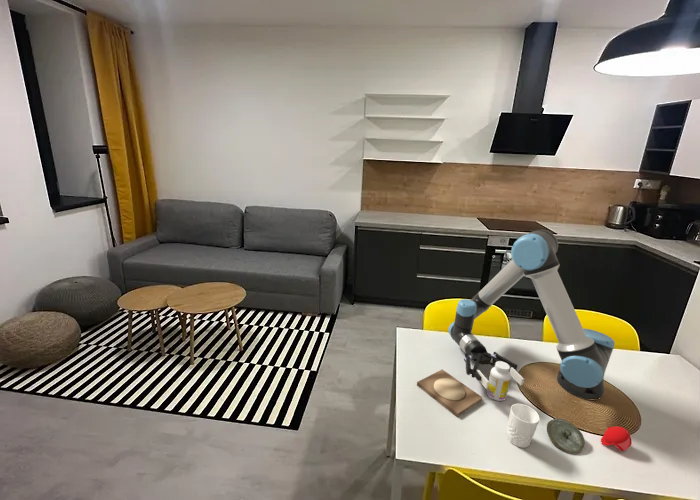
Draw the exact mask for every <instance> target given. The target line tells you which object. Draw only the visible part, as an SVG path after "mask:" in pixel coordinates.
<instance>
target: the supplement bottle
mask: <svg viewBox="0 0 700 500" xmlns="http://www.w3.org/2000/svg"><path fill="white" fill-rule="evenodd" d="M509 369H510V366H509V365H508V364H507V363H505V362H502V361H497V362H496V364H495V366H494V367H493V366H492V368H491V369H490V372H489V373H490V374H489V377H488V381H489V386H488V389H486V394H487V396H488V397H489V398H490V399H491V400H494V401H499V402H502V401H504V400H506V399H507V394H508V390H509V386H510V383H511V377H512V376H511V374H510V373H509Z"/></svg>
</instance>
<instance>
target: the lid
mask: <svg viewBox="0 0 700 500" xmlns="http://www.w3.org/2000/svg"><path fill="white" fill-rule="evenodd" d="M546 433H547V436H548V438H549V440H550V441H551V443H552V444H553V445H554V446H555V447H556V448H558V449H559V450H561V451H562V452H565V453H568V454H571V455H576V454H579V453H581V452H582V451H583V450H584V448H585V446H586V442H585V441H586V440H585V437H584V435H583V433H582V431H581V430H579V428H578V426H576V425H574V424H573V423H572V422H570V421H568V420H566V419H563V418H553V419H550V420H549V421H548V422H547V424H546Z"/></svg>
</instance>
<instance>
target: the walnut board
mask: <svg viewBox="0 0 700 500" xmlns="http://www.w3.org/2000/svg"><path fill="white" fill-rule="evenodd" d="M416 386H417V387H418V388H419V389H421V390H422V391H423V392H425V394H427V395H428V396H429V397H431V398H432V399H434V401H436V402H437V403H438V404H440V405H441V406H442V407H444V408H445V410H447V411H448V412H450V413H451V414H452V415H454V416H455V417H456V418H458V417H459V416H461V415H462V414H464V413H466V412H468V411H469V410H470V409H472V408H473V407H475V406H477V405H478V404H479V403H481V402H482V401H483V396H481V395H480V394H479V393H477V392H475V391H474V390H473V389H471V388H470V387H469V386H467V385H465V384H464V383H463V382H462V381H460V380H458V379H457V378H456V377H454V376H452V375H451V374H450V373H448V372H447V371H445V370H444V369H440V370H438V371H435V372H434V373H432V374H430V375H427V376H426V377H424V378H422V379H421V380H418V381H417V382H416Z"/></svg>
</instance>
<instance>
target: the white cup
mask: <svg viewBox="0 0 700 500" xmlns="http://www.w3.org/2000/svg"><path fill="white" fill-rule="evenodd" d="M540 420H541V419H540V415H539V414H538V412H537V411H536V410H535V409H534V408H532V407H531V406H529V405H526V404H524V403H514V404H512V405H511V406H510V411H509V415H508V422H507V427H506V434H505V436H506V438H507V440H508V441H509V443H511V444H512V445H514V446H516V447H518V448H521V449H525V448H527V447H529V446H530V444H531V442H532V440H533V438H534V435H535V432H536V430H537V427H538V424H539V422H540Z"/></svg>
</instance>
